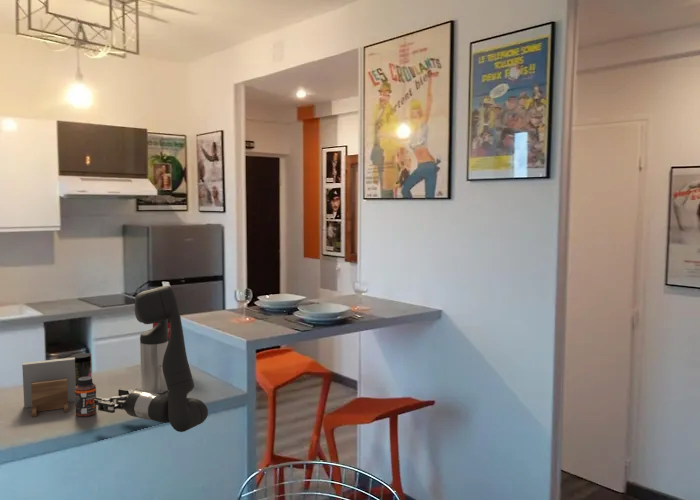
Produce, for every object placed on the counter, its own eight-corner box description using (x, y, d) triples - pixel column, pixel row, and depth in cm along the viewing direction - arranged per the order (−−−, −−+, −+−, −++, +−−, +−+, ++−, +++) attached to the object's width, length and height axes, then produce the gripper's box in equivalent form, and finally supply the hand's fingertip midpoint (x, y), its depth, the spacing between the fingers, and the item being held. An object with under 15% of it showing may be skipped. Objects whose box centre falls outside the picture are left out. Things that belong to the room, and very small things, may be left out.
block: (68, 411, 183) (67, 383, 182) (32, 416, 179) (30, 387, 178) (68, 405, 188) (67, 377, 188) (32, 410, 184) (31, 382, 183)
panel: (76, 400, 193) (74, 359, 192) (24, 407, 187) (22, 364, 185) (76, 398, 195) (74, 357, 194) (24, 405, 189) (22, 362, 187)
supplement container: (86, 387, 207) (85, 358, 206) (67, 386, 208) (66, 357, 207) (95, 381, 214) (95, 353, 213) (78, 380, 214) (77, 352, 213)
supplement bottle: (88, 418, 178) (87, 381, 177) (71, 416, 179) (69, 380, 178) (100, 411, 184) (99, 376, 183) (83, 409, 185) (82, 374, 184)
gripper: (164, 385, 174) (126, 377, 182) (125, 399, 162) (86, 390, 170) (165, 410, 175) (127, 401, 183) (126, 426, 162) (87, 415, 170)
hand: (107, 396), depth 176 cm, fingers open, 8 cm apart
